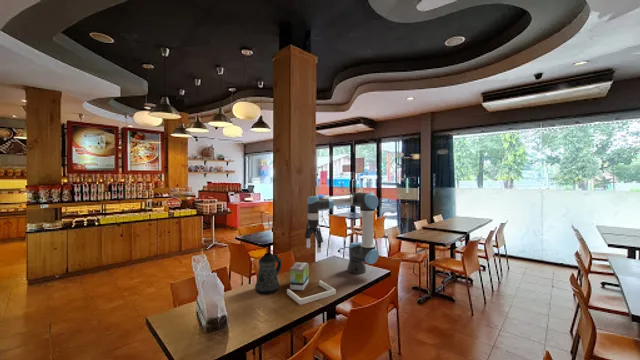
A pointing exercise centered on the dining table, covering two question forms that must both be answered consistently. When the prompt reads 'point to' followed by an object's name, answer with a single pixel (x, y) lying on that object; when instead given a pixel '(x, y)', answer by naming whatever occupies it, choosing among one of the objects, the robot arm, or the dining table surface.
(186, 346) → the dining table surface
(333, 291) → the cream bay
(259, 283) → the beer stein
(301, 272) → the tea box
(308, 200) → the robot arm
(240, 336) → the dining table surface
